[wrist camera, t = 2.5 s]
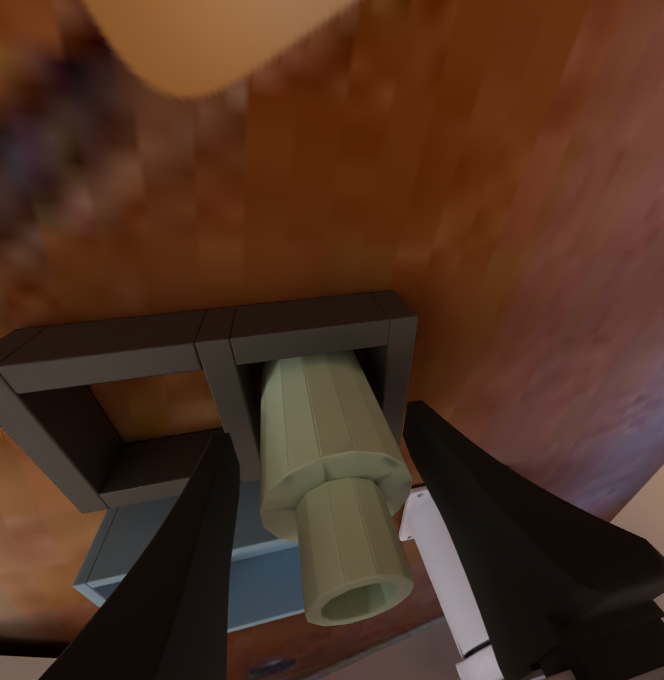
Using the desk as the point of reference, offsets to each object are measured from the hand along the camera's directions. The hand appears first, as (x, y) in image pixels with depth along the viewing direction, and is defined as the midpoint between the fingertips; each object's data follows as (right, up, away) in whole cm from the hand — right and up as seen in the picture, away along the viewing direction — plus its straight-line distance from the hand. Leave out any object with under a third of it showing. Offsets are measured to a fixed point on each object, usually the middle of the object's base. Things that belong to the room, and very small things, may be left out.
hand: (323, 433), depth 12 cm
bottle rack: (-4, +2, +3) cm, 6 cm away
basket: (-6, -9, +9) cm, 15 cm away
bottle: (-1, +2, +3) cm, 4 cm away
